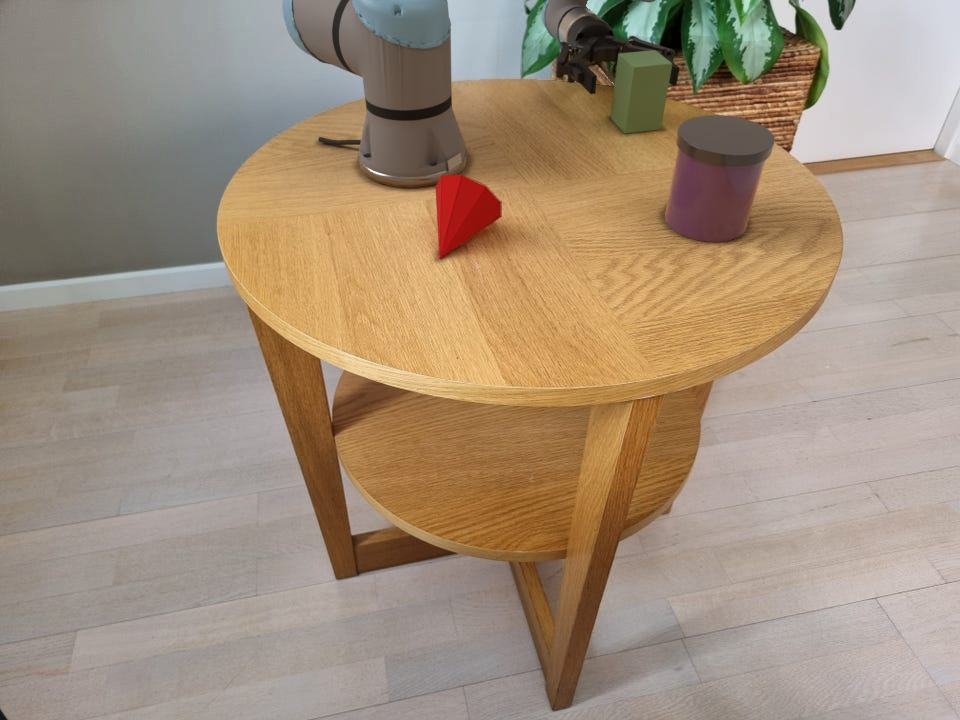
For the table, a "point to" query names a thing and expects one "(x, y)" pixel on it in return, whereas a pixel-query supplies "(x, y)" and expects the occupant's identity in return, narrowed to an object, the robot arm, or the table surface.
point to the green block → (640, 91)
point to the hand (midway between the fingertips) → (635, 80)
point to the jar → (716, 176)
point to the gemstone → (463, 210)
